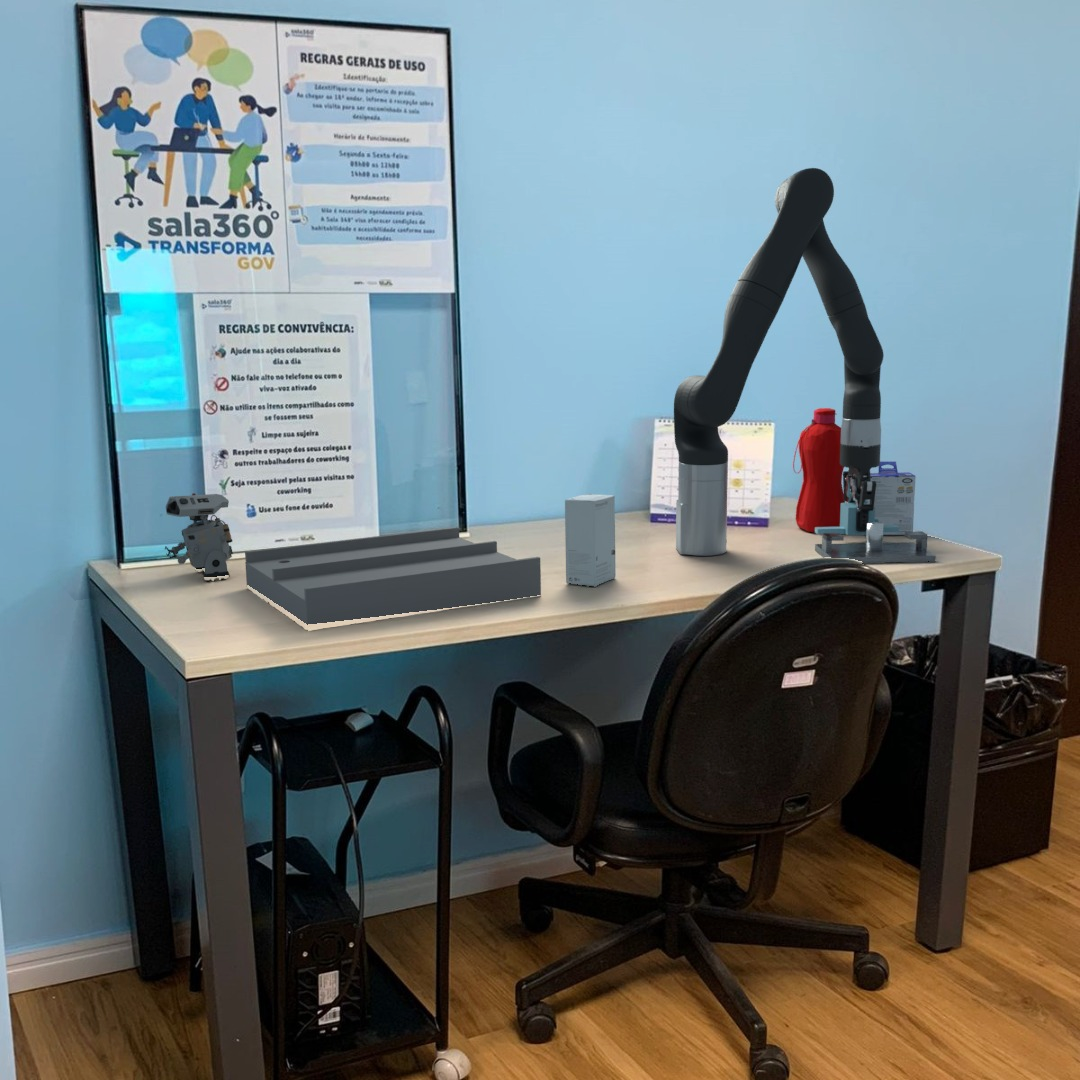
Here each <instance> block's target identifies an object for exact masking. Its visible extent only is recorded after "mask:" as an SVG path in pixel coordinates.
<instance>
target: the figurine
mask: <svg viewBox="0 0 1080 1080" xmlns="http://www.w3.org/2000/svg"><path fill="white" fill-rule="evenodd" d="M228 507H229V499H228V498H226V497H225V496H224V495H222V494H217V493H211V494H210V493H209V494H207V493H206V494H196V493H194V492H193V493H192V494H191V495H177V496H169V497H168V499H167V503H166V505H165V511H166V515H168V516H171V517H178V518H182V517H184V518H185V517H189V520H190V521H193V523H190V524H189V525H187V527H185V528H183V529H182V530H181V536H182V537H183V540H184V541H183V542H178V544H177V546H172V547H171V549H169V547H167V546H165V548H164V550H167V552H168V553H166V556H167V557H169V559H174V558H175V559H177V563H178V564H179V565H183V564H185V563H186V562H187V560H189V563H190V565H191V567H193V568H194V569H195V568H196V569H202V568H205V572H203V577H217V576H225V575H229V576H230V574H229V571H228V570H229V569H228V564H227V561H228V560H230V559H231V558H233V556H232V555H233V554H234V551H233V548H232V545H229V543H233V538H232V535H231V531H230V527H229V524H228V523H226V522H225V521H224V520H221V518H220V517H218V516H217V515H215V514H216V513H217V512H218V511H220V510H221V508H228ZM209 516H210V519H209ZM213 517H215V518H214V519H213ZM185 548H186V552H185V554H183V555H182V556H179V555H178V554H179V552H180V551H182V550H184V549H185ZM171 554H172V555H171Z"/></svg>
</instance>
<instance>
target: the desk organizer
mask: <svg viewBox="0 0 1080 1080" xmlns="http://www.w3.org/2000/svg"><path fill="white" fill-rule="evenodd" d="M244 553H245V554H244V555H245V556H244V559H245V561H244V563H245V574H246V575H245V576H246V577H245V578H246V580H245V581H246V586H247V585H249V586H250V587H252V588H253V589H255V590H257V591H258V592H259V593H261V594H263V595H264V596H266V597H267V598H269V599H270V600H272V601H273V602H274V603H276V604H278V605H279V606H281V607H283V608H284V609H285V610H287V611H288V612H290V613H291V614H293V615H294V616H296V617H297V618H298V619H300V620H301V621H303V622H304V623H306V624H307V625H308V624H317V623H327V622H335V621H344V620H353V619H361V618H370V617H379V616H386V615H394V614H402V613H409V612H419V611H427V610H437V609H443V608H452V607H459V606H467V605H475V604H482V603H490V602H496V601H504V600H510V599H517V598H523V597H530V596H537V595H541V596H542V582H541V581H542V579H541V577H542V575H541V572H542V571H541V570H542V569H541V557H540V556H534V557H526V558H517V559H516V558H514V557H511V556H509V555H506V554H503V553H501V552H499V551H498V543H497V541H496V540H491V541H483V542H482V541H481V542H472V541H469V540H467V539H465V538H462V537H460V527H459V526H454V527H445V528H436V529H428V530H419V531H409V532H402V533H393V534H384V535H376V536H366V537H359V538H350V539H343V540H342V539H341V540H334V541H333V540H332V541H325V542H324V541H323V542H317V543H314V542H313V543H307V544H298V545H288V546H281V547H272V548H263V549H256V550H247V551H244Z"/></svg>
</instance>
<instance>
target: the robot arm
mask: <svg viewBox="0 0 1080 1080" xmlns="http://www.w3.org/2000/svg"><path fill="white" fill-rule="evenodd" d="M834 189H835V188H834V183H833V180H832V179H831V176H830V175H829V174H828V173H827V172H826V171H825V170H822V169H820V168H817V167H816V168H815V167H808V168H804V169H801V170H799V171H796V172H795V173H793V174H792V175H790V176H789V177H788V178H786V179H784V180H783V181H782V182H781V183H780V185H779V186H778V187H777V190H776V192H775V196H774V204H775V205H774V206H775V209H776V211H777V215H776V219H775V221H774V223H773V225H772V228H771V229H770V231H769V233H768V235H767V236H766V238H765V239H764V240H763V241H762V243H761V245H760V246H759V247H758V248H757V250H756V251H755V253H754V254H753V255H752V257H751V259H750V260H749V261H748V263H747V264H746V265H745V267H744V268H743V271H741V274H740V275H739V277H738V279H737V282H736V283H735V285H734V287H733V289H732V291H731V293H730V295H729V298H728V301H727V303H726V306H725V311H724V317H723V330H722V341H721V345H720V348H719V351H718V352H717V355H716V357H715V360H713V364H711V367H710V369H709V371H708V373H706V375H691V376H688V377H687V378H686V377H685V379H684V380H682V381H681V382H680V383H679V385H678V386H677V389H676V390H675V393H674V394H675V395H674V399H673V424H674V425H673V428H674V430H673V433H674V444H675V448H676V450H677V455H678V484H677V485H678V487H677V488H678V491H677V492H678V493H677V494H678V496H677V497H678V498H677V499H676V503H675V504H676V506H675V509H676V510H675V512H676V513H675V516H676V517H675V549H676V550H677V552H678V553H679V554H680V555H690V556H703V557H704V556H705V557H706V556H707V557H708V556H719V555H722V554H725V553H726V552H727V544H728V543H727V541H728V540H727V537H728V535H727V533H728V530H727V529H728V527H727V525H728V484H729V483H728V482H729V481H728V476H729V475H728V472H729V471H728V470H729V449H728V447H727V446H726V444H725V443H724V442H723V441H722V439H721V436H720V434H719V433H720V432H719V427H721V426H723V425H725V424H726V423H728V421H730V419H732V417H733V415H734V414H735V412H736V409H737V407H738V404H739V403H740V400H741V397H742V393H743V391H744V388H745V386H746V382H747V380H748V377H749V374H750V371H751V368H752V367H753V365H754V362H755V359H756V358H757V356H758V353H759V352H760V349H761V347H762V345H763V342H764V341H765V338H766V336H767V335H768V332H769V329H771V326H772V324H773V322H774V320H775V318H776V316H777V314H778V312H779V310H780V309H781V306H782V304H783V302H784V299H785V297H786V294H787V292H788V291H789V288H790V286H791V284H792V281H793V280H794V277H795V274H796V272H797V270H798V267H799V265H800V263H801V260H802V258H803V260H804V262H805V264H806V266H807V268H808V271H809V272H810V275H811V277H812V279H813V283H814V284H815V287H816V288H817V292H818V294H819V297H820V299H821V302H822V305H823V307H824V309H825V313H826V315H827V316H828V317H827V318H828V320H829V322H830V325H831V326H832V328H833V329H834V332H835V334H836V337H837V340H838V343H839V345H840V350H841V352H842V355H843V361H844V362H843V364H844V365H843V369H844V372H843V373H844V391H843V392H844V393H843V400H842V419H841V420H842V421H841V426H840V427H841V440H840V465H841V466H843V467H844V468H847V469H848V470H847V471H844V470H843V473H842V483H843V484H842V488H843V494H844V501H845V503H855V502H856V511H857V512H856V530H857V531H858V532H866V529H867V523H868V518H869V512H870V511H873V509H874V500H875V491H876V481H872V477H871V475H870V473H871V469H873V468H879V465H880V462H881V449H882V447H881V446H882V445H881V443H882V423H881V409H882V396H881V389H880V382H881V381H880V380H881V368H882V367H881V366H882V364H883V362H884V350H883V347H882V345H881V342H880V339H879V337H878V335H877V332H876V331H875V328H874V327H873V324H872V322H871V321H870V318H869V315H868V310H867V307H866V304H865V301H864V298H863V296H862V293H861V291H860V288H859V286H858V283H857V280H856V278H855V276H854V275H853V273H852V271H851V270H850V268H849V267H848V265H847V263H846V262H845V261H844V259H843V258H842V257H841V255H840V254H839V252H838V250H837V249H836V247H835V246H834V244H833V243H832V241H831V239H830V236H829V234H828V231H827V229H826V226H825V225H826V224H825V221H824V218H825V217H826V215H827V213H828V212H829V210H830V208H831V206H832V204H833V201H834V197H835V190H834ZM864 501H866V504H864Z"/></svg>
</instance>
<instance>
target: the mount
mask: <svg viewBox="0 0 1080 1080" xmlns="http://www.w3.org/2000/svg"><path fill="white" fill-rule="evenodd" d="M904 536H905V538H907V539H909V540H916V541H909V542H907V541H906V542H884V535H883V523H881V522H868V523H867V529H866V535H865V542H860V543H857V542H855V543H854V542H853V543H833V542H834V541H835V542H836V541H839V542H840V541H844V537H845V536H844V534H840V533H822V534H821V543H815V544H814V551H815V552H816V553H818V554H819V555H820V556H821V557H823V558H824V557H831V558H849V559H855V560H858V561H862V562H863V563H866V564H883V563H882V562H917V563H936V559H937V556H936V555H935V554H934V553H932V552H930V551H929V550H928V549H927V548H928V533H926V532H924V531H923V530H922V531H913V532H905V535H904ZM928 561H929V562H928Z"/></svg>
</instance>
